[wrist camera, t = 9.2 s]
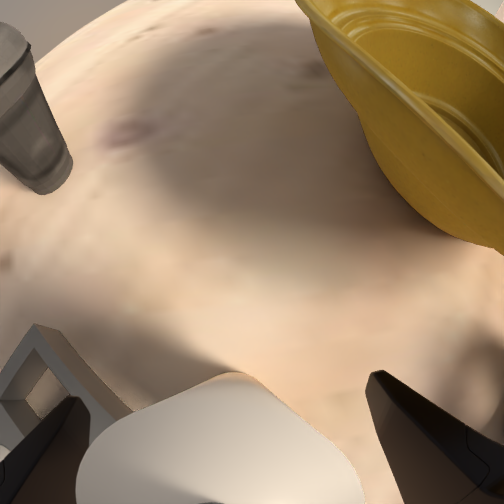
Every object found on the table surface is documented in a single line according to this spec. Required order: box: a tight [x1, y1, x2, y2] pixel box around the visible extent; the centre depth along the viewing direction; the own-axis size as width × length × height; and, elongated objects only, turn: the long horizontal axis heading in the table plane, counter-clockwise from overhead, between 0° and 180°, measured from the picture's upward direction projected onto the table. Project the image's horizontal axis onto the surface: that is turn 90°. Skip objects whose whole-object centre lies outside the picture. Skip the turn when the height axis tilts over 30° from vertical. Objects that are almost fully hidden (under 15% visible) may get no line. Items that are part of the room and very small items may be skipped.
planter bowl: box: [295, 0, 504, 256], centre depth 17 cm, size 32×32×13 cm
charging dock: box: [0, 324, 134, 462], centre depth 12 cm, size 14×14×3 cm
